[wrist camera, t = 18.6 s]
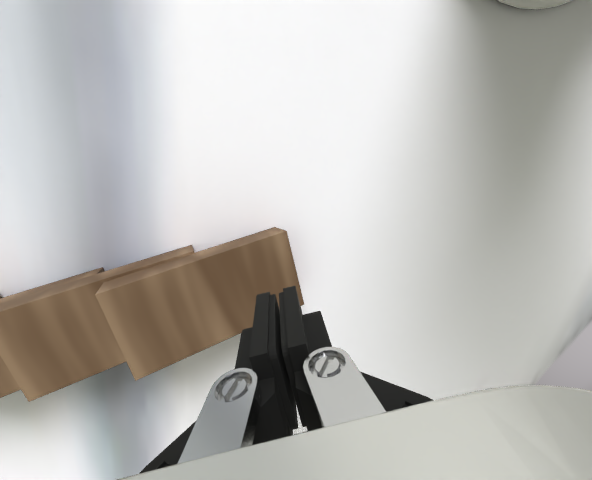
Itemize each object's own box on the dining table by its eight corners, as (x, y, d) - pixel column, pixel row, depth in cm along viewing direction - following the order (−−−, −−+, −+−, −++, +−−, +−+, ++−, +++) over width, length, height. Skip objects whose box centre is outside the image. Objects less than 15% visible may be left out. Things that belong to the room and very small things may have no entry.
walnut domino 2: (286, 231, 16) (95, 294, 13) (304, 304, 18) (135, 380, 14) (274, 227, 18) (103, 282, 15) (291, 294, 20) (138, 359, 16)
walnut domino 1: (193, 250, 16) (-23, 318, 13) (218, 323, 18) (28, 401, 14) (191, 244, 18) (1, 303, 15) (214, 310, 19) (45, 378, 16)
